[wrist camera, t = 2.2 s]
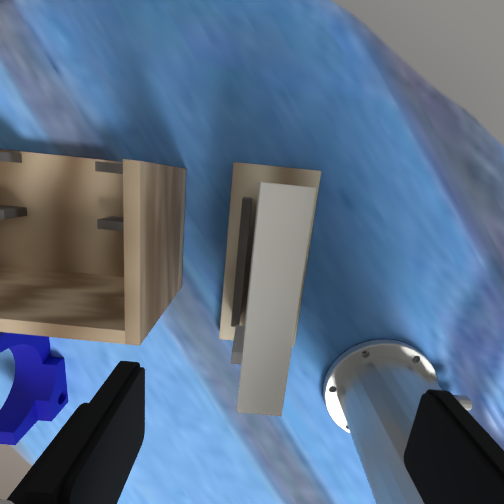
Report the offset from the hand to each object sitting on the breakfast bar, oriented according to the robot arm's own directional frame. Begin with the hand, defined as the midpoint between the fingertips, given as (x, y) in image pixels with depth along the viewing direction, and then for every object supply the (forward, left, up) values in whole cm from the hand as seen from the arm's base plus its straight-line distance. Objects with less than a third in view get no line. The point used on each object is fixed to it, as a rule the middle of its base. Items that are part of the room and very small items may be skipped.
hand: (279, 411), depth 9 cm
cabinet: (+19, -2, -20) cm, 28 cm away
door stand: (0, 0, -20) cm, 20 cm away
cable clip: (+24, +14, -20) cm, 34 cm away
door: (0, 0, -19) cm, 19 cm away
